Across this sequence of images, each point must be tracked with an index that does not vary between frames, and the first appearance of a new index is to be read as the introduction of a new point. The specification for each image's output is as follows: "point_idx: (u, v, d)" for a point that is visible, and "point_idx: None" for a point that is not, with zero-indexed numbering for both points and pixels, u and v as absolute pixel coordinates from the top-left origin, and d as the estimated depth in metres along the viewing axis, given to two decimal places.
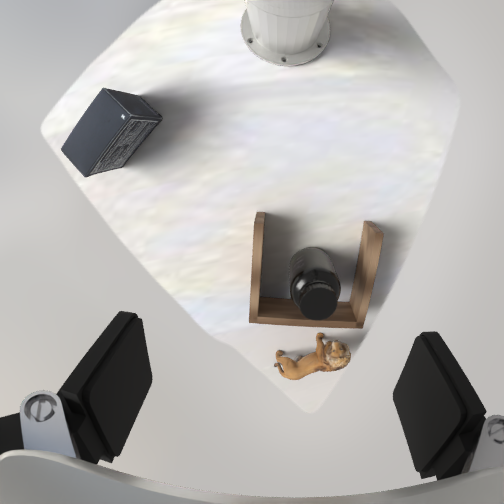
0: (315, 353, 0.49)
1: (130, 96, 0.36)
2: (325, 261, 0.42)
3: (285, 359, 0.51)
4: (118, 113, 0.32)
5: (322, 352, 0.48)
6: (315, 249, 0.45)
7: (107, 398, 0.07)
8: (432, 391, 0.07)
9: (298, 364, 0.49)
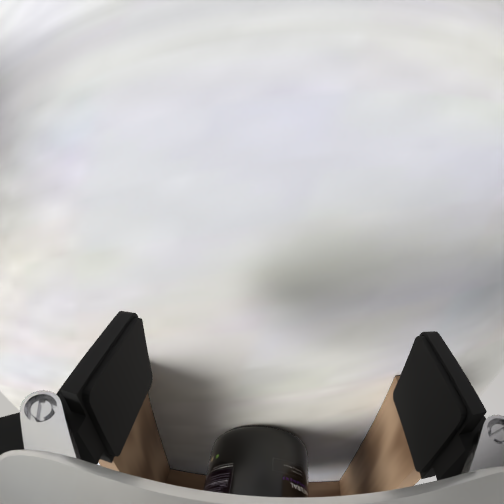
0: None
1: None
2: (280, 495, 0.13)
3: None
4: None
5: None
6: (266, 440, 0.17)
7: (107, 398, 0.07)
8: (432, 391, 0.07)
9: None
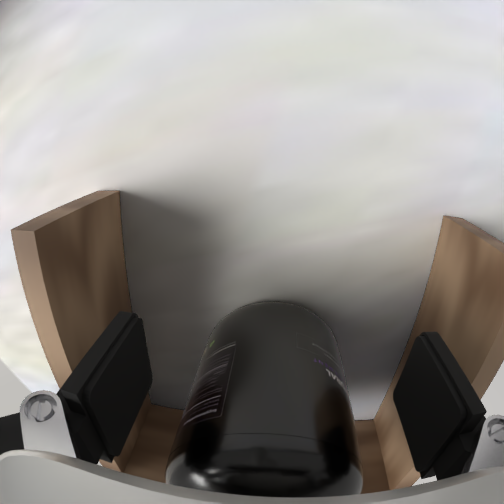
0: None
1: None
2: (313, 382, 0.09)
3: None
4: None
5: None
6: (284, 313, 0.13)
7: (107, 398, 0.07)
8: (432, 391, 0.07)
9: None
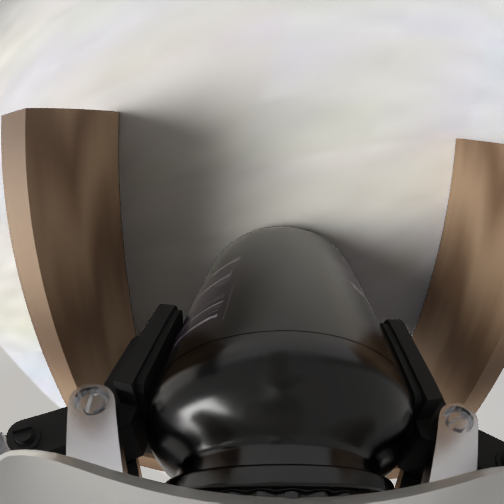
0: None
1: None
2: (339, 288, 0.08)
3: None
4: None
5: None
6: (295, 233, 0.12)
7: None
8: None
9: None
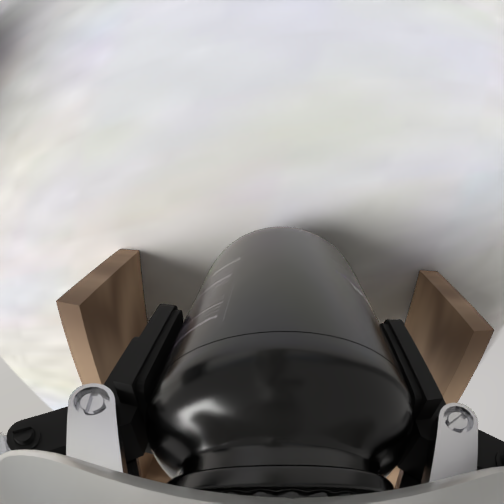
0: None
1: None
2: (339, 289, 0.08)
3: None
4: None
5: None
6: (295, 233, 0.12)
7: None
8: None
9: None
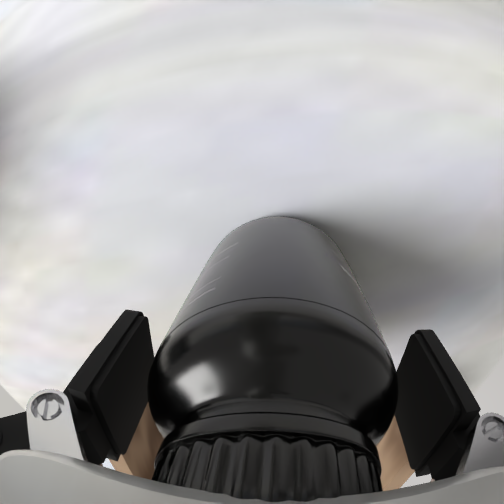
0: None
1: None
2: (327, 268, 0.09)
3: None
4: None
5: None
6: (290, 222, 0.12)
7: (114, 396, 0.07)
8: (426, 389, 0.07)
9: None
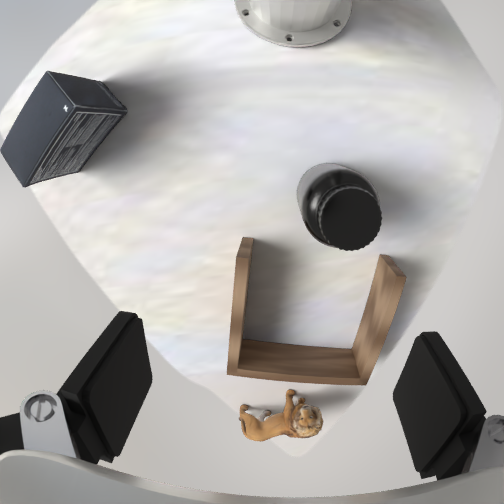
0: (282, 415, 0.40)
1: (87, 82, 0.26)
2: None
3: (248, 417, 0.42)
4: (60, 104, 0.21)
5: (289, 416, 0.38)
6: None
7: (107, 398, 0.07)
8: (432, 391, 0.07)
9: (262, 425, 0.40)
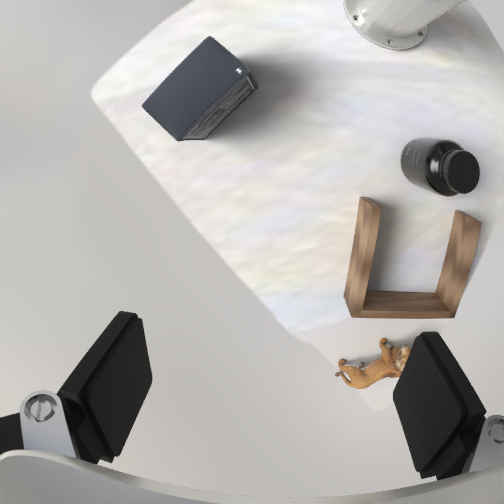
0: (382, 359, 0.45)
1: None
2: None
3: (351, 368, 0.47)
4: (232, 66, 0.26)
5: (390, 358, 0.43)
6: None
7: (107, 398, 0.07)
8: (432, 391, 0.07)
9: (365, 372, 0.45)
